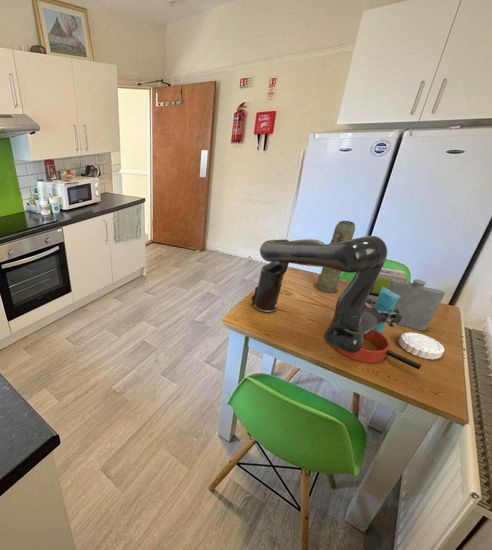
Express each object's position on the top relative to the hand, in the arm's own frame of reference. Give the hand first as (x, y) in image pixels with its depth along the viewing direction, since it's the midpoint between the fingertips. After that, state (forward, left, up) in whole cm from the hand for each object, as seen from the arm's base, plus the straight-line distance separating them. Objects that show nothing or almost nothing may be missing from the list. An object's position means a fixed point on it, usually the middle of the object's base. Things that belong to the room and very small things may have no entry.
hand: (382, 306), depth 113 cm
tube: (0, +1, -13) cm, 13 cm away
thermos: (-28, +23, -13) cm, 38 cm away
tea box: (-10, +31, -13) cm, 35 cm away
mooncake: (+14, +4, -13) cm, 20 cm away
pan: (+5, -14, -13) cm, 19 cm away
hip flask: (+4, +18, -13) cm, 22 cm away
